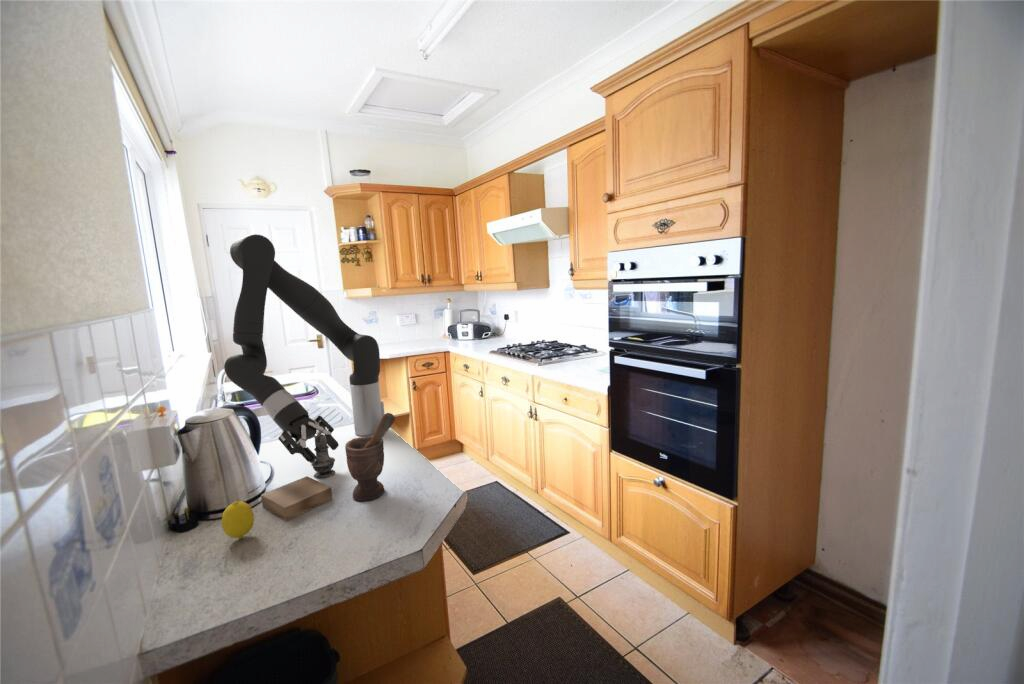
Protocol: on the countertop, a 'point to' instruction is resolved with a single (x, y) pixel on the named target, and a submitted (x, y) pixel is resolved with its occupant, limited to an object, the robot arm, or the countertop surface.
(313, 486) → the walnut plinth
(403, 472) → the countertop surface
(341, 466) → the countertop surface
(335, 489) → the countertop surface
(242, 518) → the lemon
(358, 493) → the mortar and pestle
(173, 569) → the countertop surface
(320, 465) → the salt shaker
